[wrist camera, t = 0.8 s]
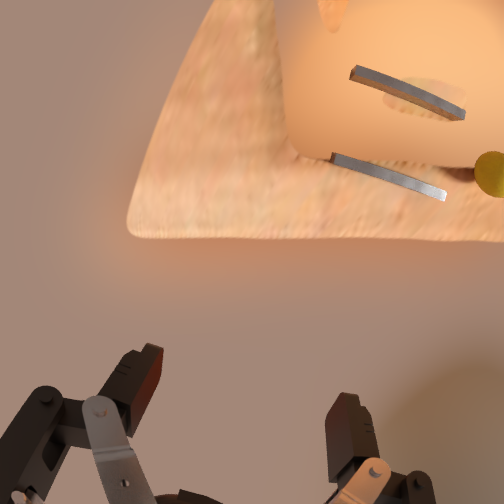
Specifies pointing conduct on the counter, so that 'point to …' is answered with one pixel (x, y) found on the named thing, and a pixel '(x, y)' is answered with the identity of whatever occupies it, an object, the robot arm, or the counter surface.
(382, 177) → the guide channel
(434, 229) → the counter surface
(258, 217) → the counter surface
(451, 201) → the counter surface
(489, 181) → the lemon
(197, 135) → the counter surface
